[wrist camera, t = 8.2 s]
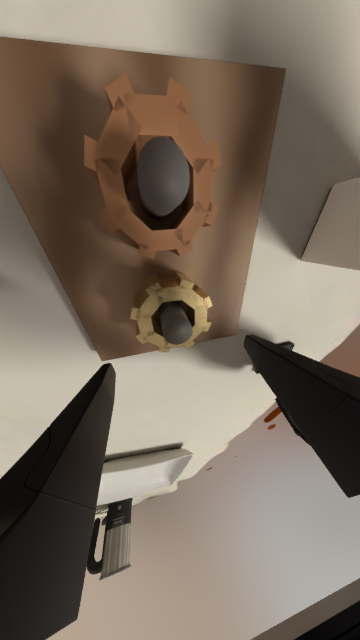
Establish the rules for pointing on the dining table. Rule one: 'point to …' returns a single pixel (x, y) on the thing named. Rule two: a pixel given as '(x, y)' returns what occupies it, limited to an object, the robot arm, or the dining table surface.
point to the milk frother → (112, 540)
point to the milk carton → (338, 229)
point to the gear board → (75, 198)
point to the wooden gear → (166, 292)
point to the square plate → (141, 474)
